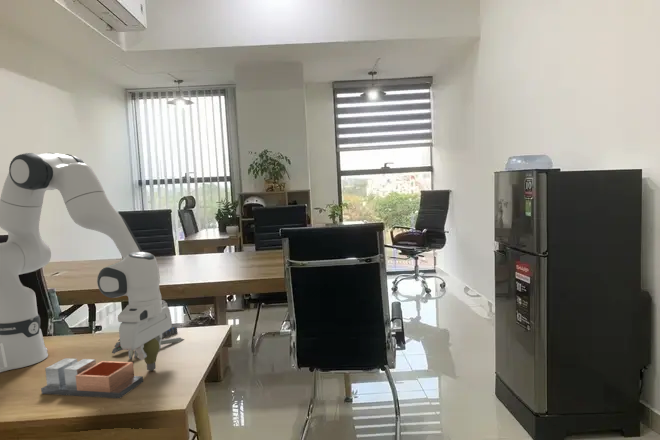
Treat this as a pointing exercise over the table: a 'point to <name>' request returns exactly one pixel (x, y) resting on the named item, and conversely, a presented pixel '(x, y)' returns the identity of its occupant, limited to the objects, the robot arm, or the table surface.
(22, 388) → the table surface
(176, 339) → the caliper
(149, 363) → the light bulb
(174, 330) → the block letters
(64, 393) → the desk organizer
